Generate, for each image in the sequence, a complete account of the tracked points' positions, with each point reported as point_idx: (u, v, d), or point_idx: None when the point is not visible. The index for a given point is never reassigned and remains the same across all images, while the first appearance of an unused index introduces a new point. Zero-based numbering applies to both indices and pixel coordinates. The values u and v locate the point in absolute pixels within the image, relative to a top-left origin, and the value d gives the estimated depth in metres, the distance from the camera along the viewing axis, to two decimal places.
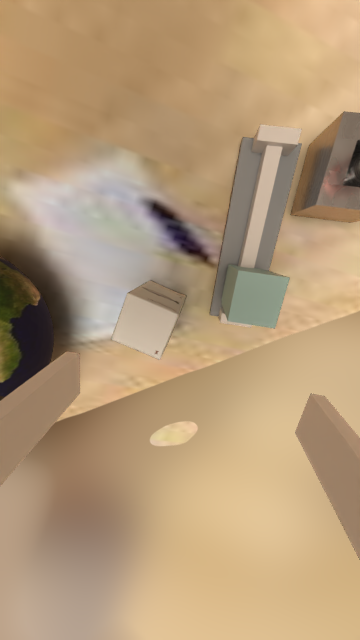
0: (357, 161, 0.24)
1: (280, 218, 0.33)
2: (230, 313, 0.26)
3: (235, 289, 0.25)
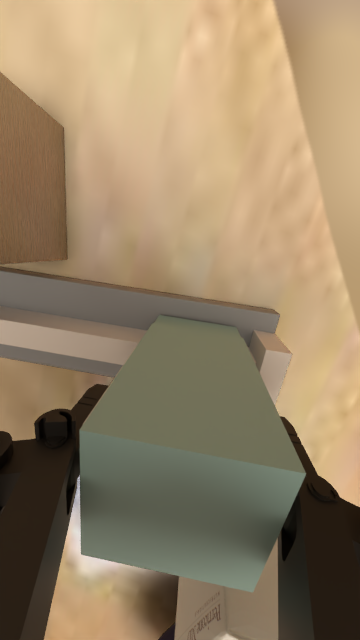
0: None
1: (67, 284, 0.17)
2: (224, 583, 0.07)
3: (141, 564, 0.07)
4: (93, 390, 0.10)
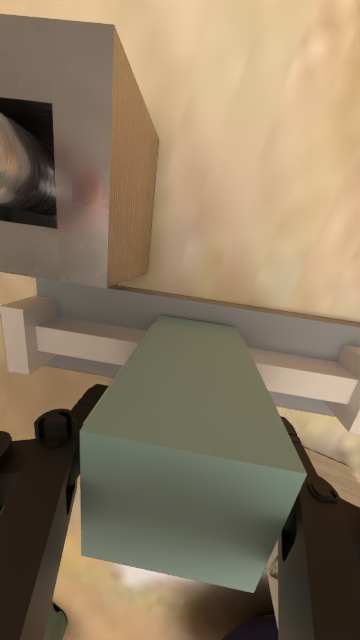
0: None
1: (152, 298, 0.17)
2: (225, 583, 0.07)
3: (141, 565, 0.07)
4: (93, 390, 0.10)
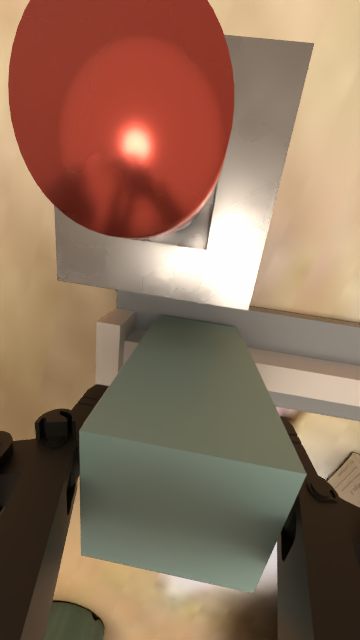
0: None
1: (237, 312, 0.16)
2: (224, 584, 0.07)
3: (141, 565, 0.07)
4: (94, 390, 0.10)
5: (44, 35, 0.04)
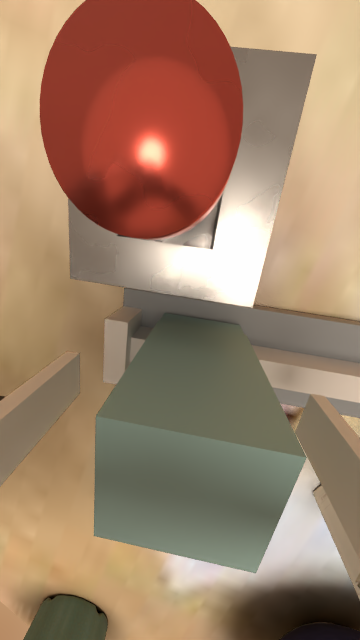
0: None
1: (241, 310, 0.17)
2: (228, 564, 0.08)
3: (150, 545, 0.08)
4: None
5: (73, 58, 0.04)
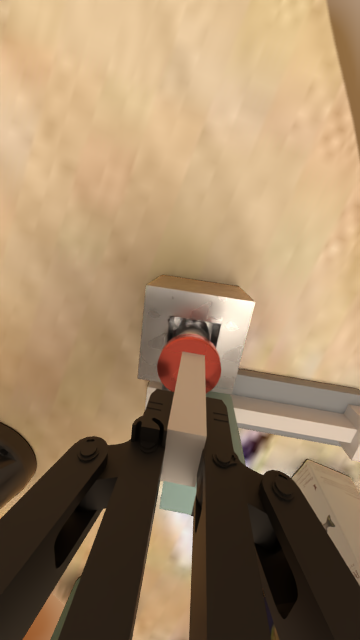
0: None
1: None
2: None
3: (184, 512, 0.18)
4: (156, 395, 0.11)
5: (170, 353, 0.15)
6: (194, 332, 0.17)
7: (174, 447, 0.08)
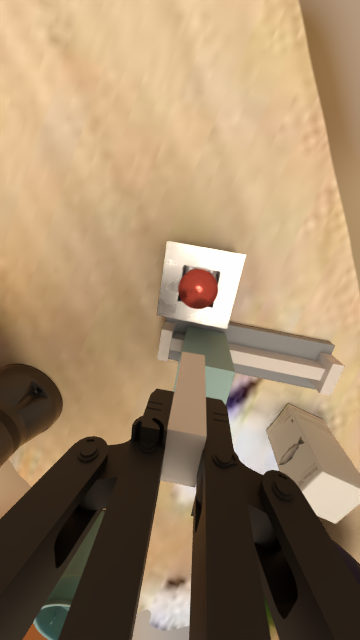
0: None
1: None
2: None
3: None
4: (156, 395, 0.11)
5: (187, 278, 0.24)
6: None
7: (174, 447, 0.08)
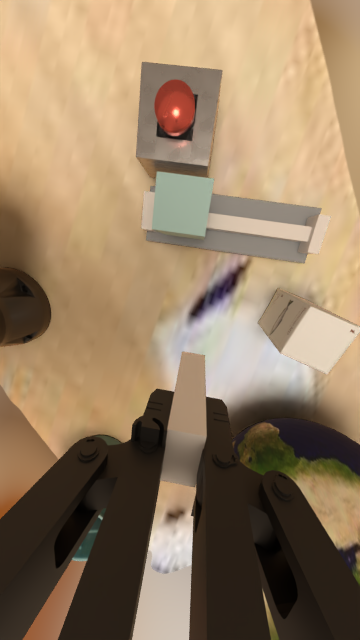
0: None
1: None
2: (196, 234, 0.24)
3: (170, 230, 0.24)
4: (156, 395, 0.11)
5: (162, 92, 0.23)
6: None
7: (174, 447, 0.08)
